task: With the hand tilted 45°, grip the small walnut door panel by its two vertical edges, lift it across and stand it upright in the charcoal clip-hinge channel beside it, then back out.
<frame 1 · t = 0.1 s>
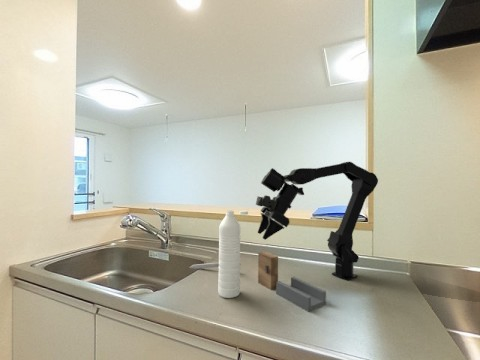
hand: (261, 235, 83), 15 cm above the countertop, tool tilted 35°, fingers open, 9 cm apart
water bottle: (232, 294, 71), on the countertop
door slab: (267, 285, 77), on the countertop
hinge channel: (300, 298, 68), on the countertop
caliper: (213, 271, 89), on the countertop
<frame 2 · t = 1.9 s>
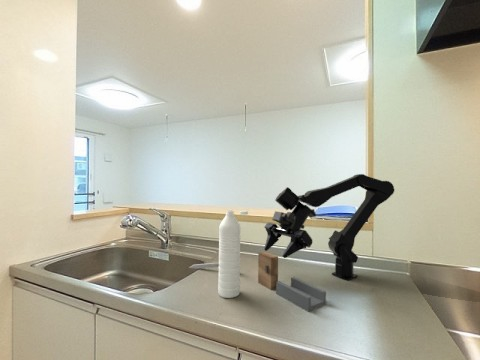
hand: (273, 253, 79), 10 cm above the countertop, tool tilted 45°, fingers open, 9 cm apart
nothing on the countertop moved.
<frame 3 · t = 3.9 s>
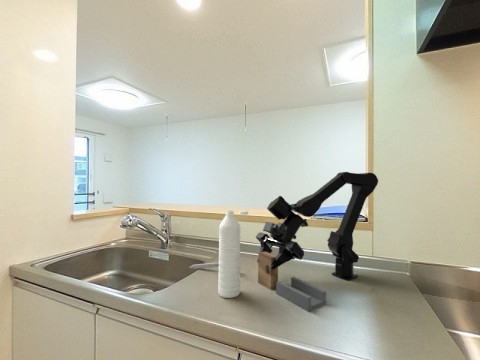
hand: (264, 265, 76), 7 cm above the countertop, tool tilted 45°, fingers closed on door slab, 6 cm apart
door slab: (267, 285, 77), on the countertop, touching gripper
everything else where it was.
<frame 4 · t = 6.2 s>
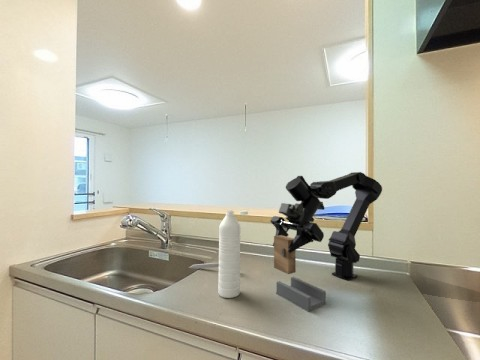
hand: (281, 249, 72), 13 cm above the countertop, tool tilted 45°, fingers closed on door slab, 6 cm apart
door slab: (284, 269, 72), point 7 cm above the countertop, touching gripper
everything else where it was.
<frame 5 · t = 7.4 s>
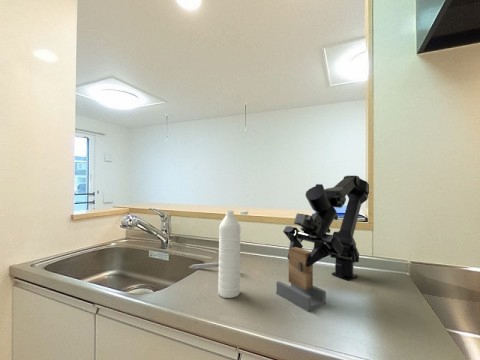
hand: (297, 262, 68), 11 cm above the countertop, tool tilted 45°, fingers closed on door slab, 6 cm apart
door slab: (300, 284, 68), point 4 cm above the countertop, touching gripper
everything else where it was.
when the fingers open (9 cm above the countertop, at t = 8.6 s): door slab drops 1 cm, resting on hinge channel.
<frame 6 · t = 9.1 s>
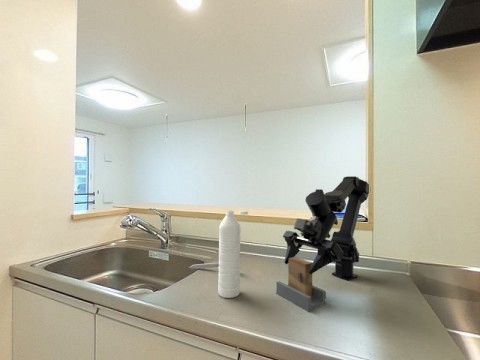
hand: (296, 268, 67), 9 cm above the countertop, tool tilted 45°, fingers open, 9 cm apart
door slab: (299, 294, 68), point 1 cm above the countertop, touching hinge channel
everything else where it was.
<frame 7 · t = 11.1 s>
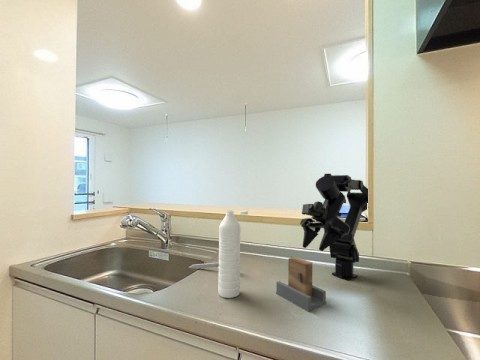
hand: (311, 248, 73), 13 cm above the countertop, tool tilted 35°, fingers open, 9 cm apart
nothing on the countertop moved.
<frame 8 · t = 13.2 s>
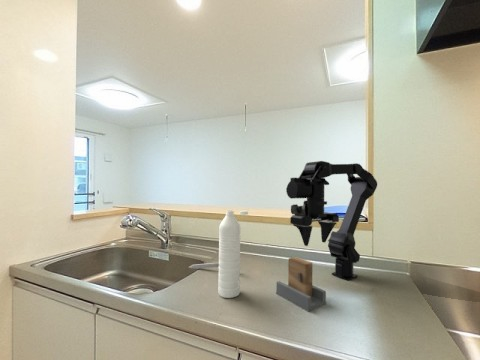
hand: (315, 244, 80), 13 cm above the countertop, tool pointing down, fingers open, 9 cm apart
nothing on the countertop moved.
at the end: door slab 0.0 cm off-centre on the hinge channel, point 1.0 cm above the hinge channel's base; door slab tilted 0°; the gripper is holding nothing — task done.
